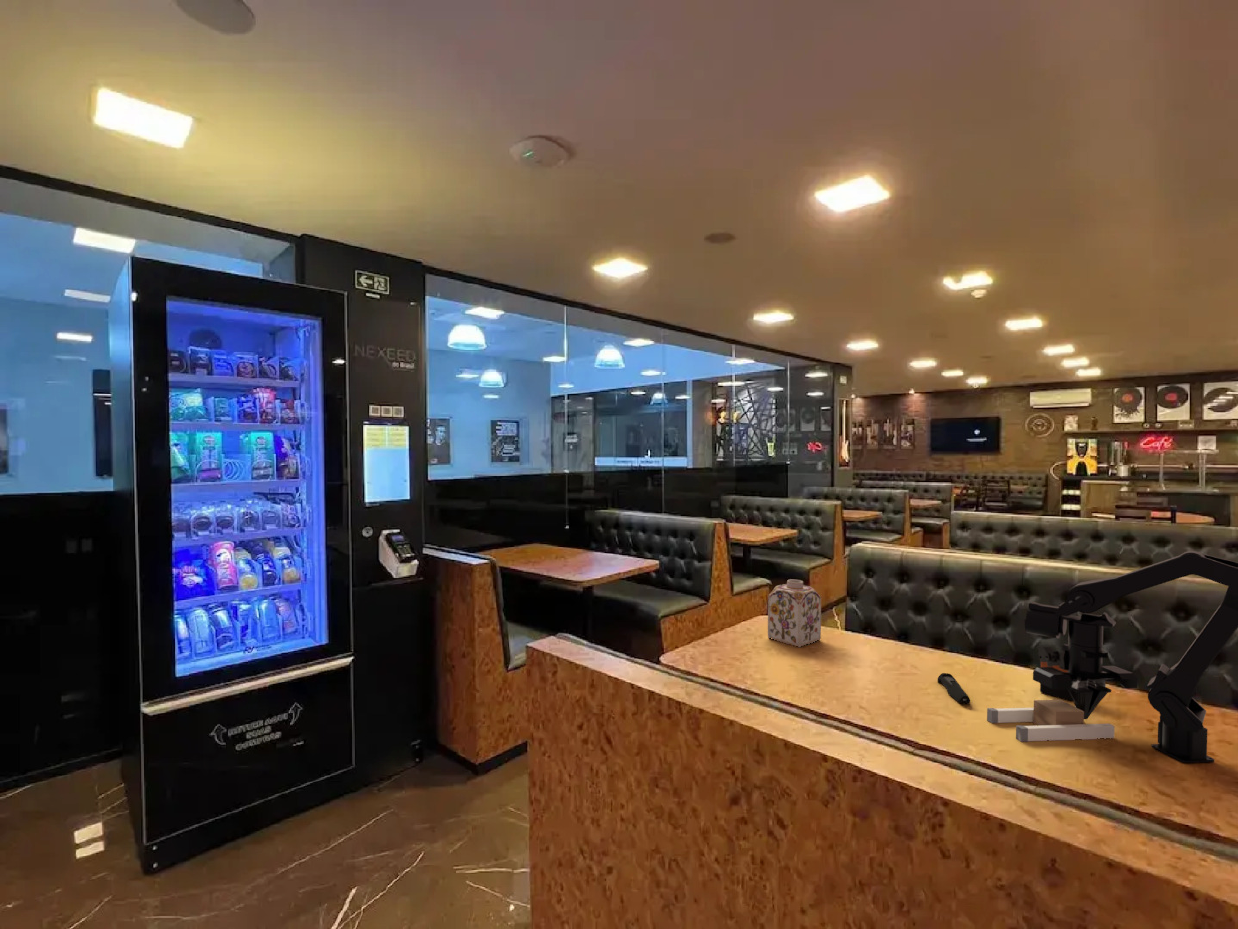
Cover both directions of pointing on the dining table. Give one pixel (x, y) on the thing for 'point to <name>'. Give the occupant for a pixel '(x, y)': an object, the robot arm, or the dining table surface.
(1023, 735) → the chute
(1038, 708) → the walnut block
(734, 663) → the dining table surface
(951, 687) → the electric trimmer
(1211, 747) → the dining table surface
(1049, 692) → the battery
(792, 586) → the decorative jar
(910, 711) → the dining table surface
